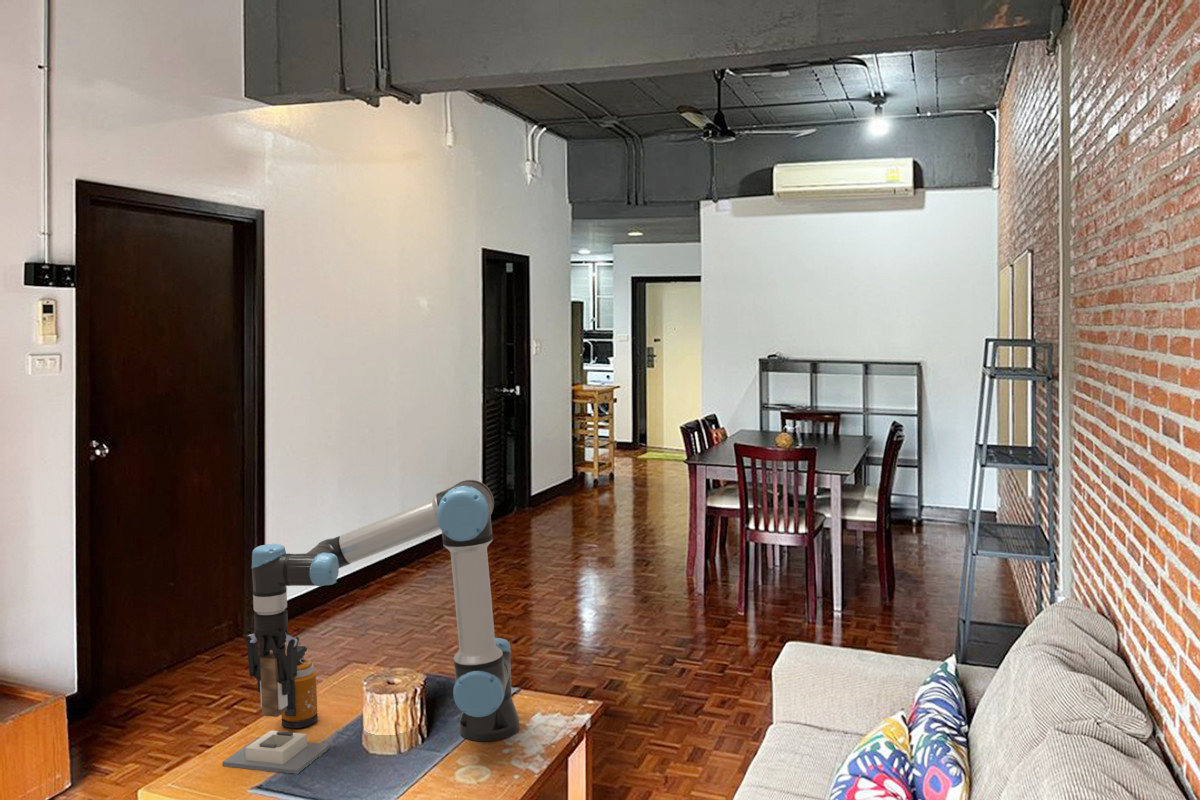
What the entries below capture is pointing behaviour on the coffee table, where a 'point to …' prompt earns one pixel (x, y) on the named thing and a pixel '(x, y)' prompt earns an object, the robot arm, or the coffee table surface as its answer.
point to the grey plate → (277, 753)
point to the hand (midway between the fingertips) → (274, 706)
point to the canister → (301, 694)
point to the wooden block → (270, 686)
